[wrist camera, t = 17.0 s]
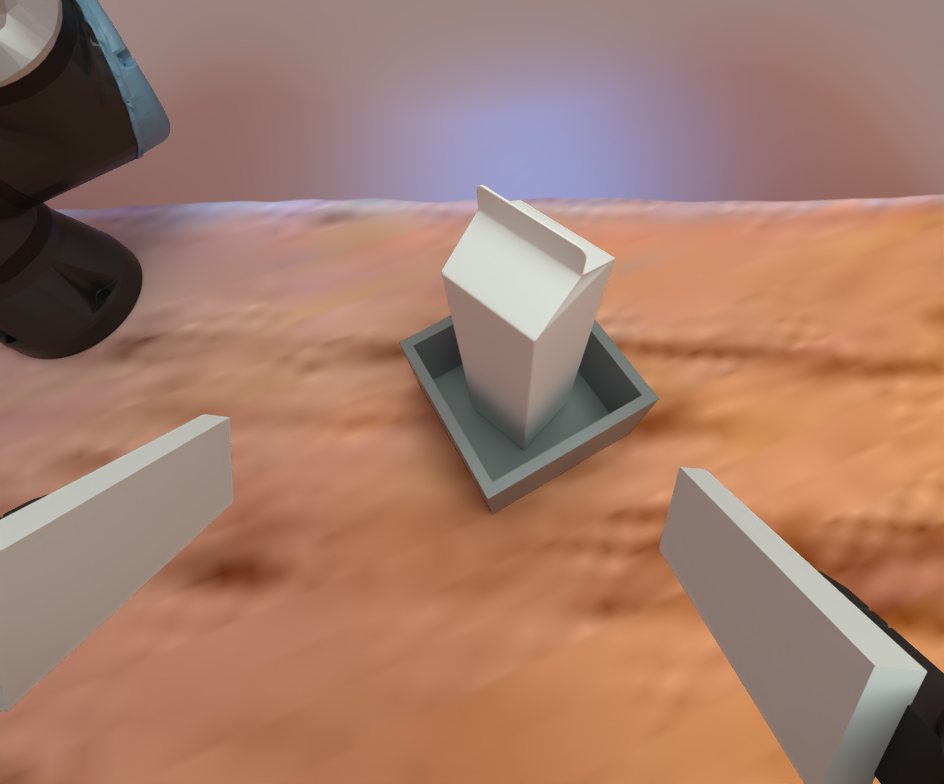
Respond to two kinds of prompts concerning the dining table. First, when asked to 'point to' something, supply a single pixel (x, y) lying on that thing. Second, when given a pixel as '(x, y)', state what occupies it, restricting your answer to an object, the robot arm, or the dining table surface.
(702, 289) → the dining table surface
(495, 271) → the milk
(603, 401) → the tray
